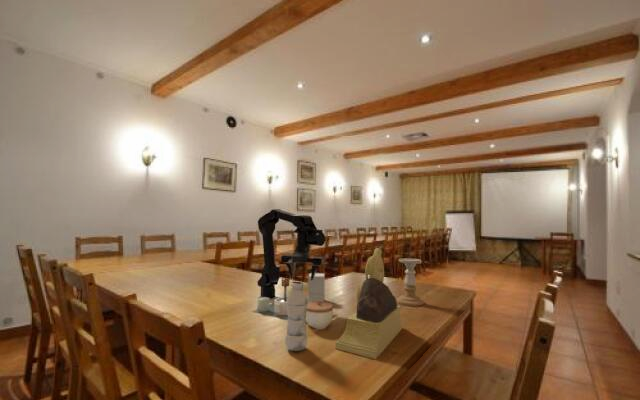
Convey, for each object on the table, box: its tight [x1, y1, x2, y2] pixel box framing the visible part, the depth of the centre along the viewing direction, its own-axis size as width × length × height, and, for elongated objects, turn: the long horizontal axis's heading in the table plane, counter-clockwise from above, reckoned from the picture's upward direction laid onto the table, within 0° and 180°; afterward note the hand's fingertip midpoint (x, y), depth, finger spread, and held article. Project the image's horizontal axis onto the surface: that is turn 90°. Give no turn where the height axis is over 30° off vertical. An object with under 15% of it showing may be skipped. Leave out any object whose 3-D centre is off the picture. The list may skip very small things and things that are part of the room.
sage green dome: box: [256, 296, 271, 314], centre depth 127 cm, size 5×5×5 cm
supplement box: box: [307, 272, 326, 302], centre depth 144 cm, size 7×7×13 cm
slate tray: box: [251, 302, 288, 321], centre depth 127 cm, size 22×16×1 cm
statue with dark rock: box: [335, 247, 403, 360], centre depth 103 cm, size 28×13×30 cm, turn 150°
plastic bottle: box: [284, 280, 308, 352], centre depth 93 cm, size 6×7×20 cm
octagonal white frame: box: [273, 296, 288, 316], centre depth 125 cm, size 8×10×5 cm
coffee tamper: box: [278, 277, 290, 302], centre depth 126 cm, size 6×6×9 cm
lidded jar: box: [306, 300, 334, 331], centre depth 112 cm, size 11×11×9 cm
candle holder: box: [396, 257, 425, 307], centre depth 144 cm, size 12×12×20 cm
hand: (302, 279), depth 134 cm, fingers open, 9 cm apart
